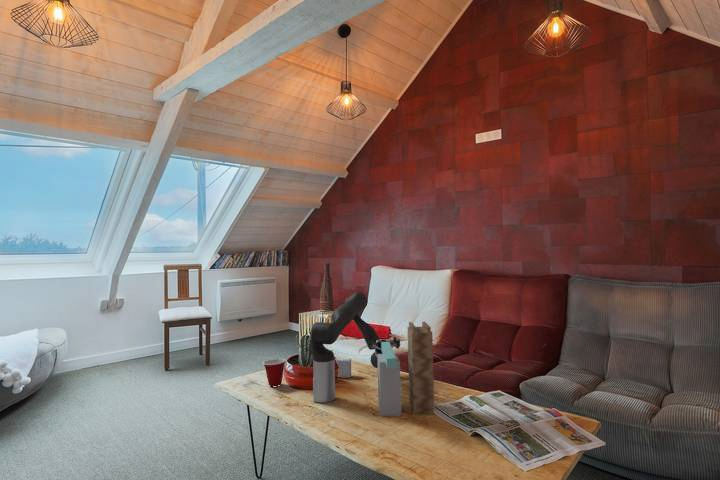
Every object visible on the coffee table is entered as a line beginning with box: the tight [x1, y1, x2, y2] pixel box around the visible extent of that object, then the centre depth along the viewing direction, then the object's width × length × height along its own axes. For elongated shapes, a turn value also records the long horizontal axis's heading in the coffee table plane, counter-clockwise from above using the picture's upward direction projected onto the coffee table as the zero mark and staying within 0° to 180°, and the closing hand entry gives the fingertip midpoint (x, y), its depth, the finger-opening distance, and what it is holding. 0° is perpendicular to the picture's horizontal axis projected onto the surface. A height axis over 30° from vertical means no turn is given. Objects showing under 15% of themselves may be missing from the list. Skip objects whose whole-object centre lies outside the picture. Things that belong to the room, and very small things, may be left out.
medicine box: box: [336, 358, 352, 379], centre depth 212 cm, size 8×4×9 cm, turn 84°
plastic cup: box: [262, 358, 287, 386], centre depth 201 cm, size 11×11×12 cm
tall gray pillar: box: [377, 353, 402, 417], centre depth 169 cm, size 8×12×21 cm, turn 2°
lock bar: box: [381, 342, 397, 368], centre depth 168 cm, size 4×26×4 cm, turn 2°
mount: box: [407, 321, 435, 416], centre depth 170 cm, size 8×12×34 cm, turn 2°
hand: (385, 339), depth 183 cm, fingers open, 8 cm apart
